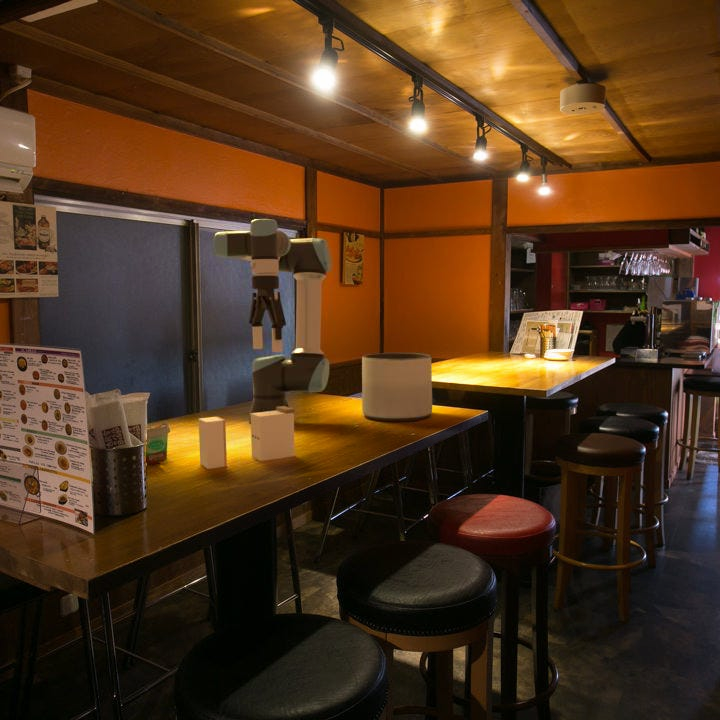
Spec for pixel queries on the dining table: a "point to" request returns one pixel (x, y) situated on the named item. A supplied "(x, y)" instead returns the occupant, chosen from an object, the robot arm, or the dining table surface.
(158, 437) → the food container
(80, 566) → the dining table surface
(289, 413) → the cream rectangular box
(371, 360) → the planter
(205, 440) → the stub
